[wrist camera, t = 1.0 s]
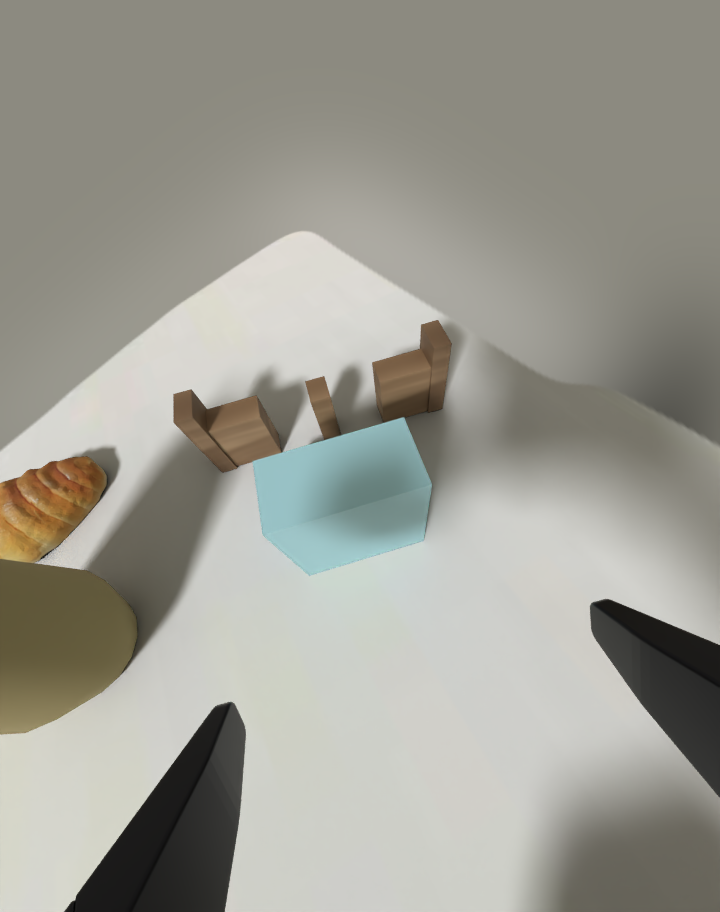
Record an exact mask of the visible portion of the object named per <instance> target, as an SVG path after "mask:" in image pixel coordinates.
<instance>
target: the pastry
mask: <svg viewBox="0 0 720 912" xmlns="http://www.w3.org/2000/svg"><path fill="white" fill-rule="evenodd" d="M106 485H107V476H106V474H105V472H104V471H103V469H102V468H101V467H100V466H98V465H97V464H96V463H95V462H94V461H93V460H92V459H91V458H89V457H87V456H86V457H73V458H68V459H65V460H62V461H52V462H49V463H48V464H46V465H45V466H43V467H42V468H40V469H30V470H28V471H26V472H25V473H24V474H23V475H22V476H21V477H19V478H14V479H12V480H8V481H5V482H2V483H0V559H6V560H13V561H20V562H28V563H35V562H37V561H39V560H40V558H41V557H42V556H43V555H45V554H46V553H48V552H49V551H51V550H53V549H55V548H56V547H57V546H58V545H59V544H60V543H61V542H62V541H63V540H64V539H66V538H67V537H68V535H69V534H70V532H72V531H73V530H74V529H75V528H76V527H77V526H78V525H79V523H80V522H81V521H82V520H83V519H84V518H85V517H86V516H87V514H88V513H89V512H90V511H91V510H92V509H93V508H94V506H95V505H96V504H97V502H98V501H99V499H100V496H101V494H102V492H103V490H104V489H105V487H106Z"/></svg>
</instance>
